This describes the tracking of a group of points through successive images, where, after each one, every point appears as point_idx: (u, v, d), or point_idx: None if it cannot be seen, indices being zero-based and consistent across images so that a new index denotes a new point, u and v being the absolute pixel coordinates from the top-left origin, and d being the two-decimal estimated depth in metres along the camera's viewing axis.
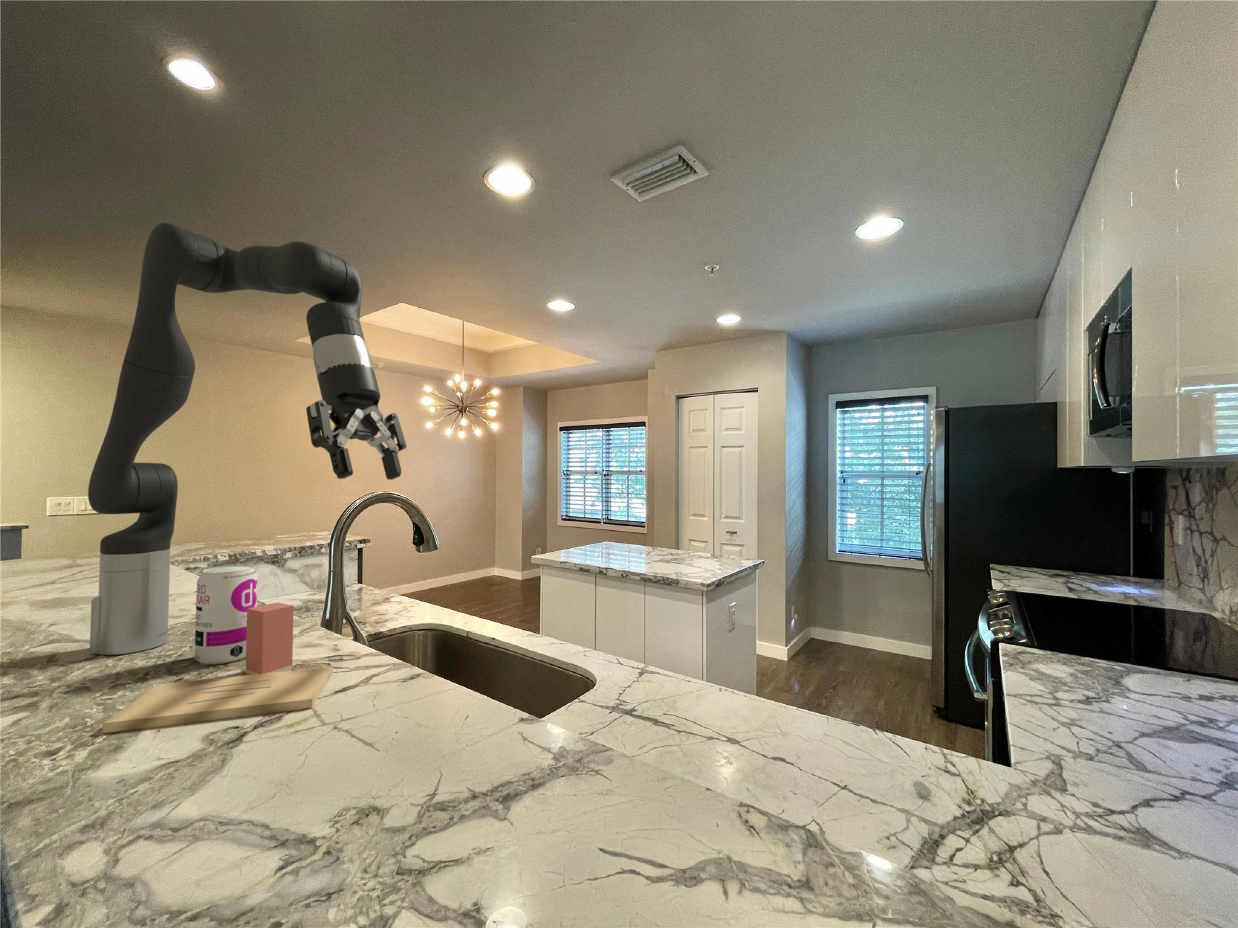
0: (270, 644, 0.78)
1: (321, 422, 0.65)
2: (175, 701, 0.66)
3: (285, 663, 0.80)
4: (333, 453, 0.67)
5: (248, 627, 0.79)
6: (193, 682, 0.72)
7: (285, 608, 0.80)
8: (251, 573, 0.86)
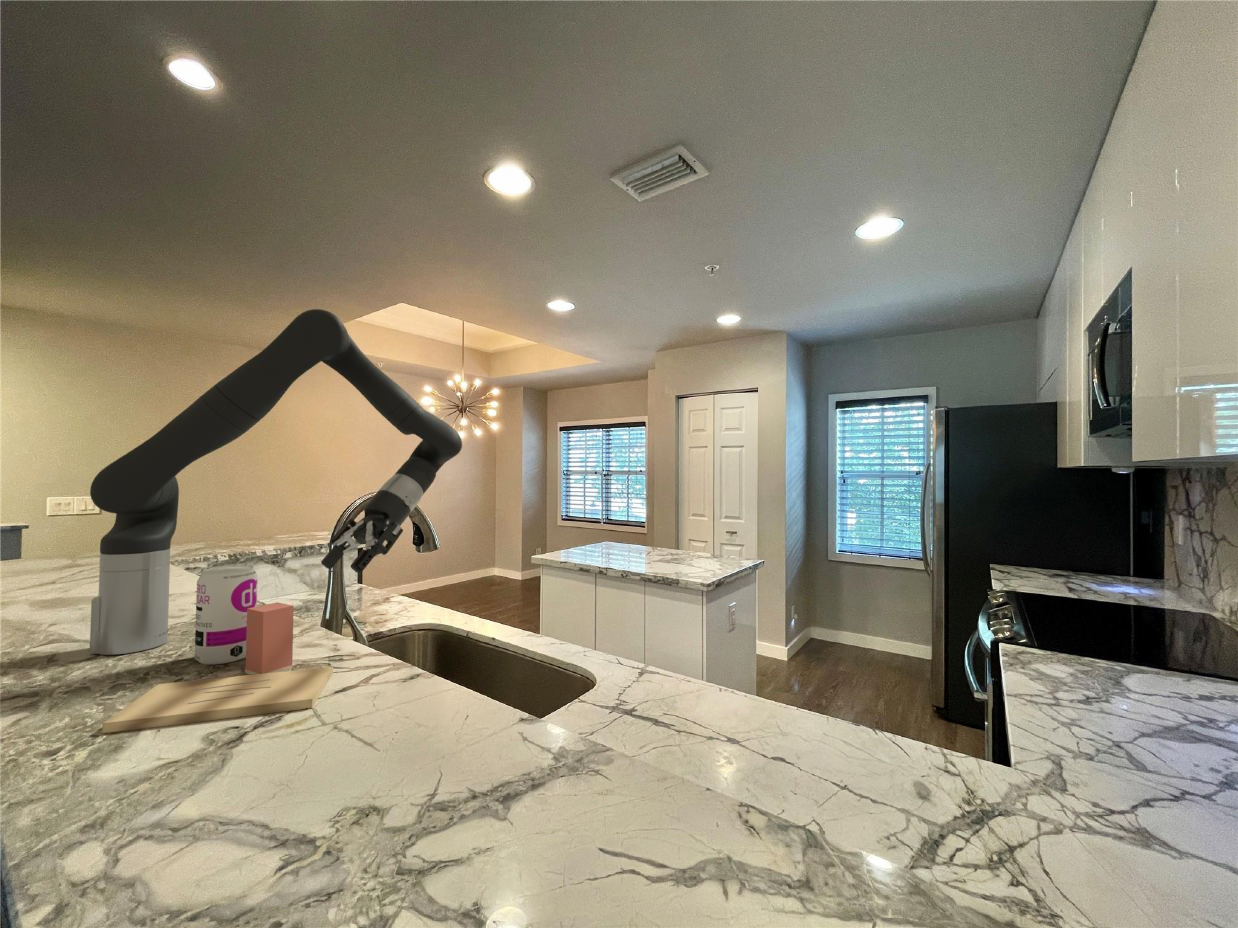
0: (270, 644, 0.78)
1: (393, 542, 0.92)
2: (175, 701, 0.66)
3: (285, 663, 0.80)
4: (370, 554, 0.90)
5: (248, 627, 0.79)
6: (193, 682, 0.72)
7: (285, 608, 0.80)
8: (251, 573, 0.86)
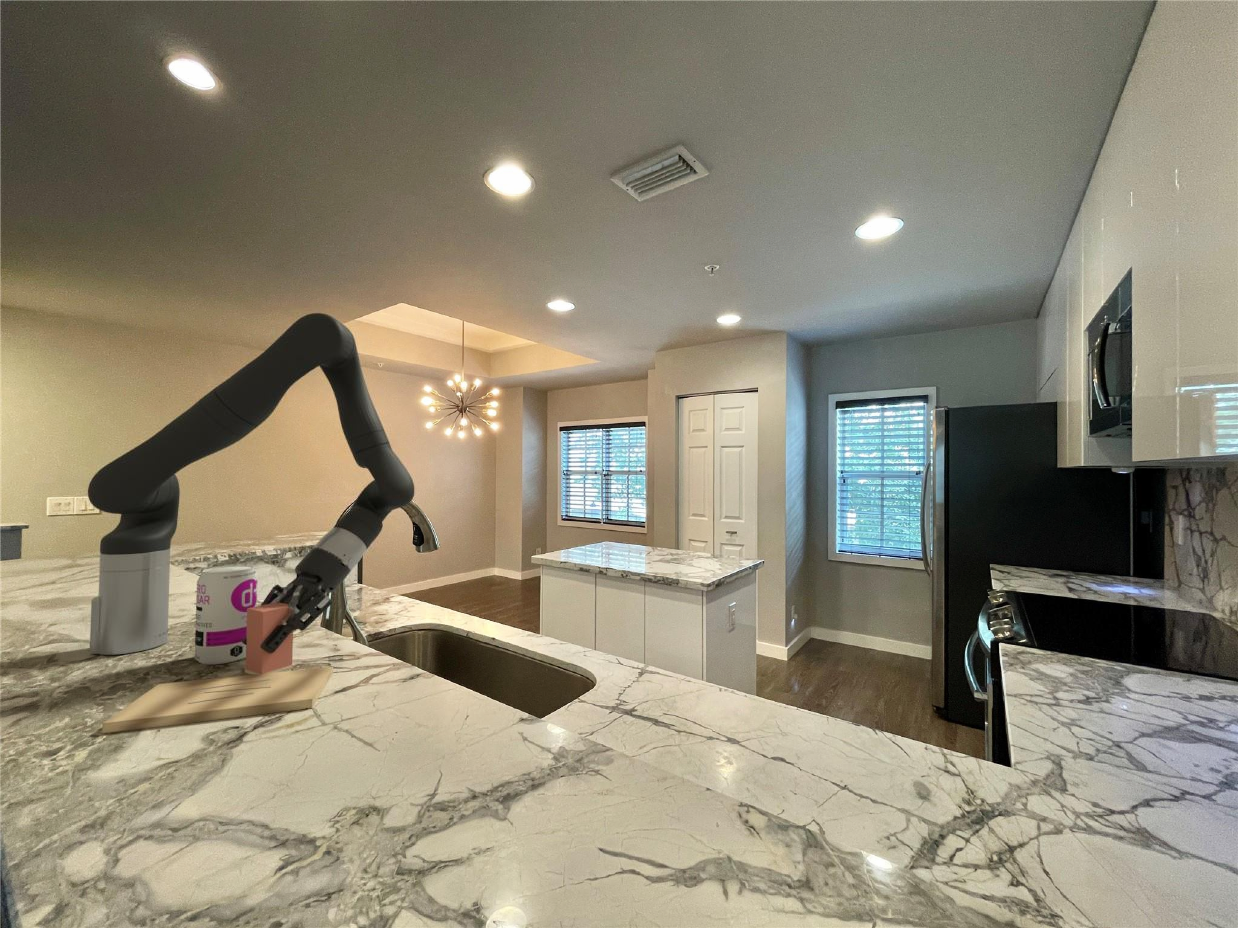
0: None
1: (315, 617, 0.81)
2: (175, 701, 0.66)
3: (285, 663, 0.80)
4: (285, 631, 0.79)
5: (248, 627, 0.79)
6: (193, 682, 0.72)
7: (285, 608, 0.80)
8: (251, 573, 0.86)
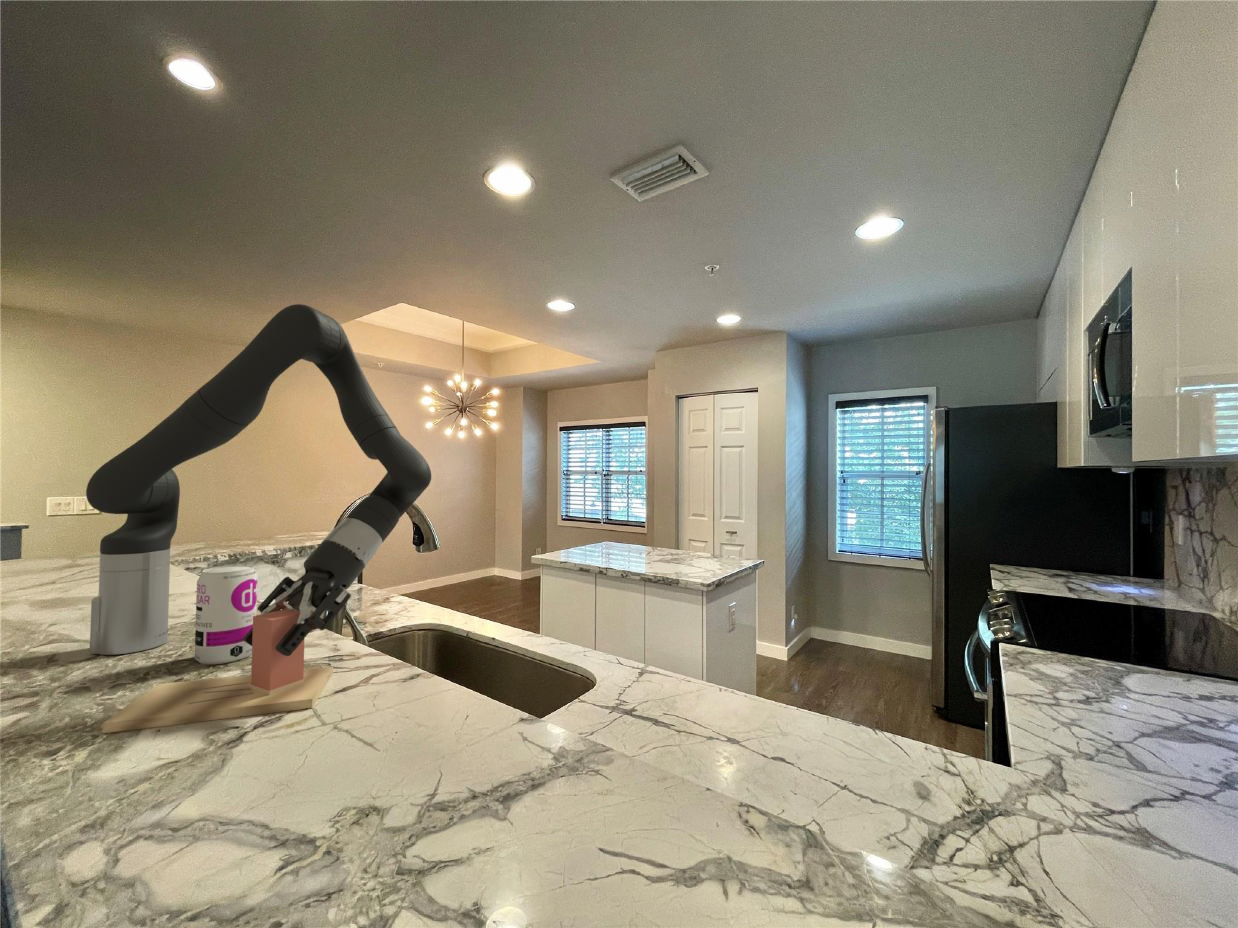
0: (278, 657, 0.69)
1: (336, 613, 0.72)
2: (175, 701, 0.66)
3: (295, 677, 0.71)
4: (303, 631, 0.69)
5: (254, 637, 0.70)
6: (193, 682, 0.72)
7: (296, 616, 0.71)
8: (251, 573, 0.86)
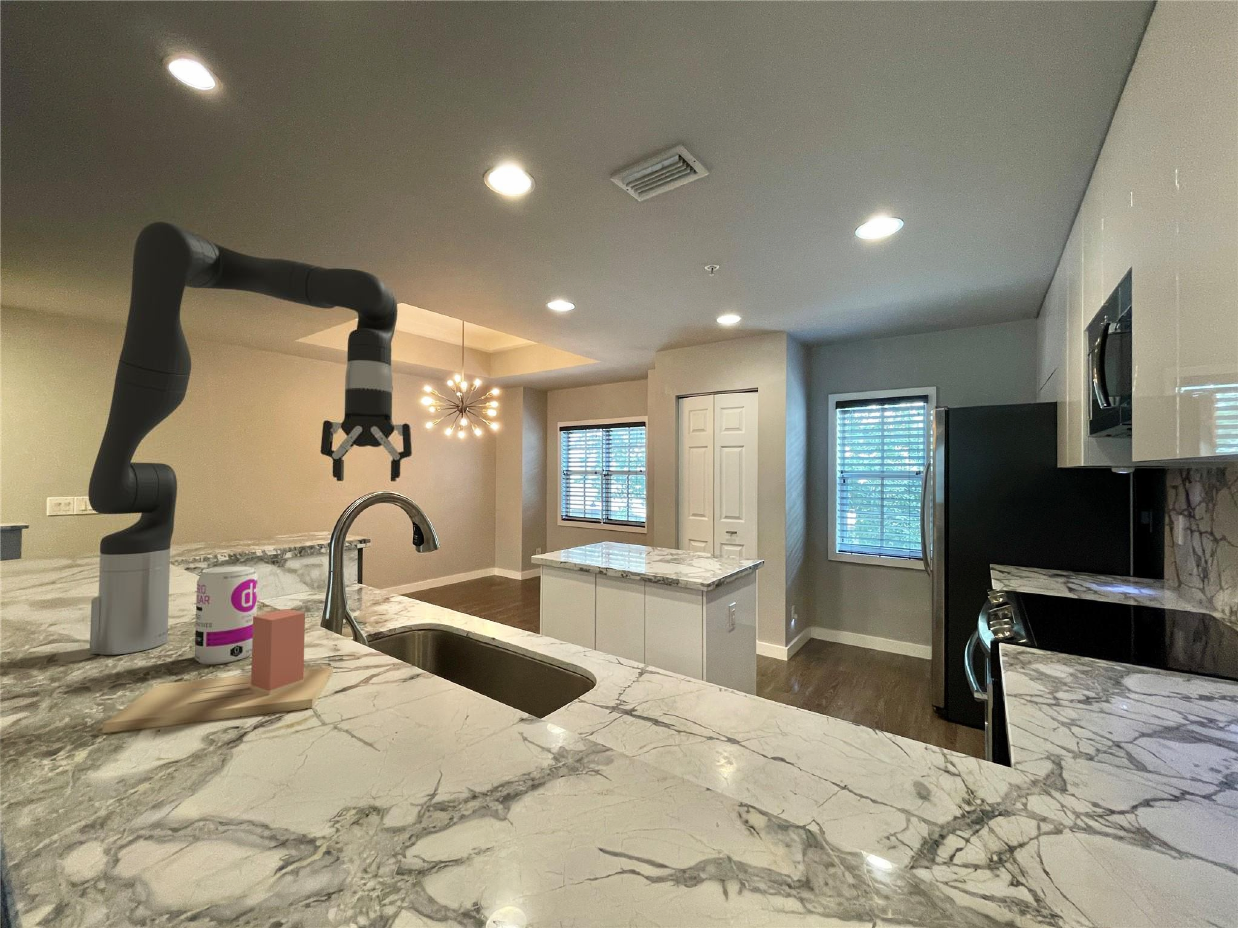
0: (278, 657, 0.69)
1: None
2: (175, 701, 0.66)
3: (295, 677, 0.71)
4: (399, 462, 0.90)
5: (254, 637, 0.70)
6: (193, 682, 0.72)
7: (296, 616, 0.71)
8: (251, 573, 0.86)
